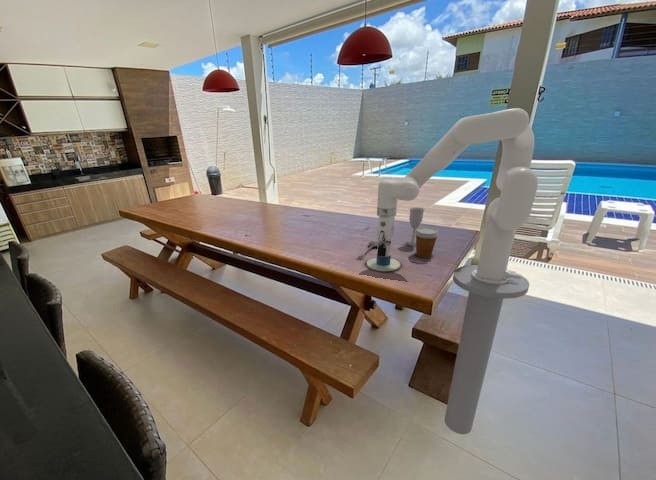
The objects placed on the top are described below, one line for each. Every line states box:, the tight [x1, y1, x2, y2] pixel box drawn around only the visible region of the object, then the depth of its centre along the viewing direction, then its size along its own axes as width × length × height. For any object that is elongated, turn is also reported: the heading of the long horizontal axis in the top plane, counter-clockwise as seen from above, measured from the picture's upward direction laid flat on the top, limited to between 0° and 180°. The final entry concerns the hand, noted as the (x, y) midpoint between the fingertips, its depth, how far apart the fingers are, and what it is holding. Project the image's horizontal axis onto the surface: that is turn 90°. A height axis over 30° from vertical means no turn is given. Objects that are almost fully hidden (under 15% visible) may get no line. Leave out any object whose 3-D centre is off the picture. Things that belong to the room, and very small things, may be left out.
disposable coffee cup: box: [415, 226, 439, 259], centre depth 137 cm, size 10×10×12 cm
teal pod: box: [376, 252, 392, 266], centre depth 131 cm, size 6×6×4 cm
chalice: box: [407, 207, 425, 246], centre depth 149 cm, size 7×7×18 cm
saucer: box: [366, 257, 401, 272], centre depth 132 cm, size 14×14×1 cm
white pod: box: [376, 242, 392, 256], centre depth 130 cm, size 5×5×4 cm
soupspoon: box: [357, 240, 379, 260], centre depth 147 cm, size 22×3×7 cm
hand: (383, 252), depth 130 cm, fingers open, 7 cm apart
